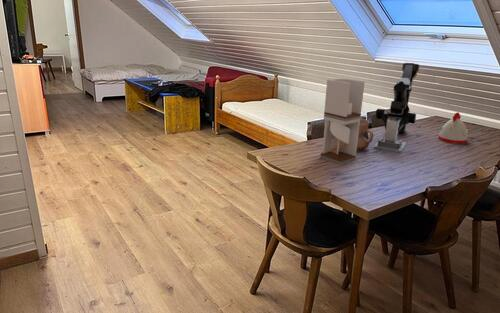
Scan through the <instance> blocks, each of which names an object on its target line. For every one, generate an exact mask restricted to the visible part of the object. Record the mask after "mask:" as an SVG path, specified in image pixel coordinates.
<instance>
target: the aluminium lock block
mask: <svg viewBox="0 0 500 313" xmlns="http://www.w3.org/2000/svg"><path fill="white" fill-rule="evenodd" d="M399 122H400V119H396V118H393V117H388V120H387V126H386V130H385V133H384V134H385V135H384V141H385V142H391V143H396V141H398V134H399V133H398V127H399Z"/></svg>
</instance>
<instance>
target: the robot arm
mask: <svg viewBox="0 0 500 313" xmlns="http://www.w3.org/2000/svg"><path fill="white" fill-rule="evenodd" d="M401 71H402V76H401V78H400V79H399V80H397V81H396V82H397V83H395V84H394V85H393V96H394V98H393V100H392V101H391V103H390V108H389V111H390V112H389V111H386V109H384V108H377V109H376V110H375V118H376V119H378V120H381V121H382V122H383V123H384V130H385V131H386V126H387V120H388V119H389V118H396V119H400V122H399V127H398V134H401V135H403V134H406V133H408V131H407V130H406V127H407V125H409V124H416V121H417V114H416V112H410V110H411V109H410V107H409V101H410V100H409V99H410V95H411V92H412V90H413V87H412V86H413V81H414V79H415V78H416V77H417V76H418V73H420V72H419V71H420V64H419V63H417V62H410V61H408V62H403V63H402V68H401Z"/></svg>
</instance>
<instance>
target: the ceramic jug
mask: <svg viewBox="0 0 500 313" xmlns="http://www.w3.org/2000/svg"><path fill="white" fill-rule="evenodd" d="M369 126H370V121H369V120H368V119H367V118H366V119H362V118H360V125H359V133H358V142H357V150H356V152H357V151H364V150H366V149H367V148H368V147H369V145H370V144H371V142H372V141H373V139H374V132H373V130H371V129H368V127H369ZM367 132H368V134H369V139H368V140H367V139H366V138H364V136H363V135H364V134H365V133H367Z"/></svg>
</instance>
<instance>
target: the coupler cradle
mask: <svg viewBox="0 0 500 313" xmlns="http://www.w3.org/2000/svg"><path fill="white" fill-rule="evenodd" d="M384 139H385V136H381V137H380V138H379V139H378V141H377V142H376V143H375V144H374V145H373V149H377V150H383V151H389V152H395V153H402V152H403V150H404V149H405V147H406V145H407V142H406V141H405V142H404V141H403V139H400V140H397V141H396V143H391V142H385V141H384Z"/></svg>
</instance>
